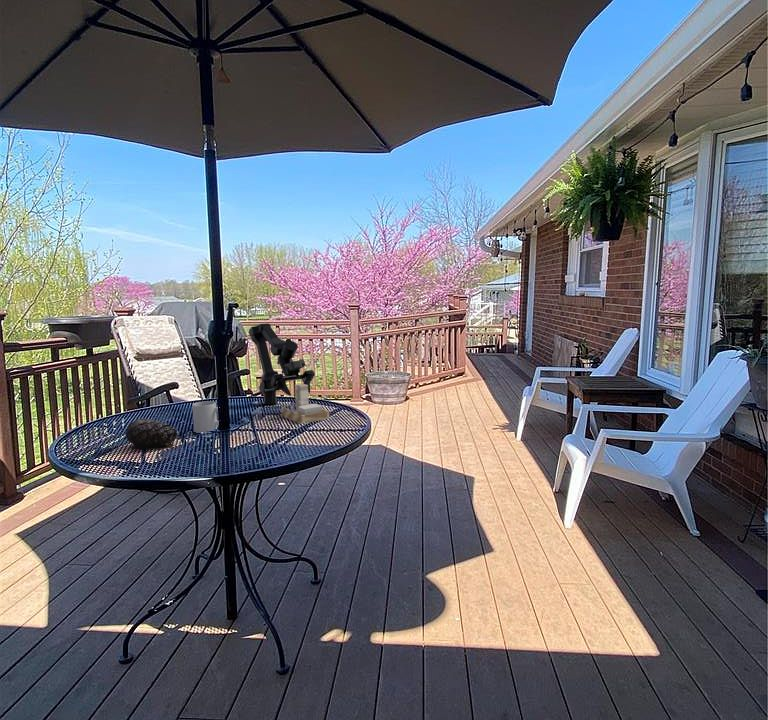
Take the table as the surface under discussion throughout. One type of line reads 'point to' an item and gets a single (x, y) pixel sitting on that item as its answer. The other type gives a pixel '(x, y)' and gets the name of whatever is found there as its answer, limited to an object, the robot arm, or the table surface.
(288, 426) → the table surface
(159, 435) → the pine cone
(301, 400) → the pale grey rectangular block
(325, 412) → the tray
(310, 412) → the offcut top
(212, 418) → the mug
